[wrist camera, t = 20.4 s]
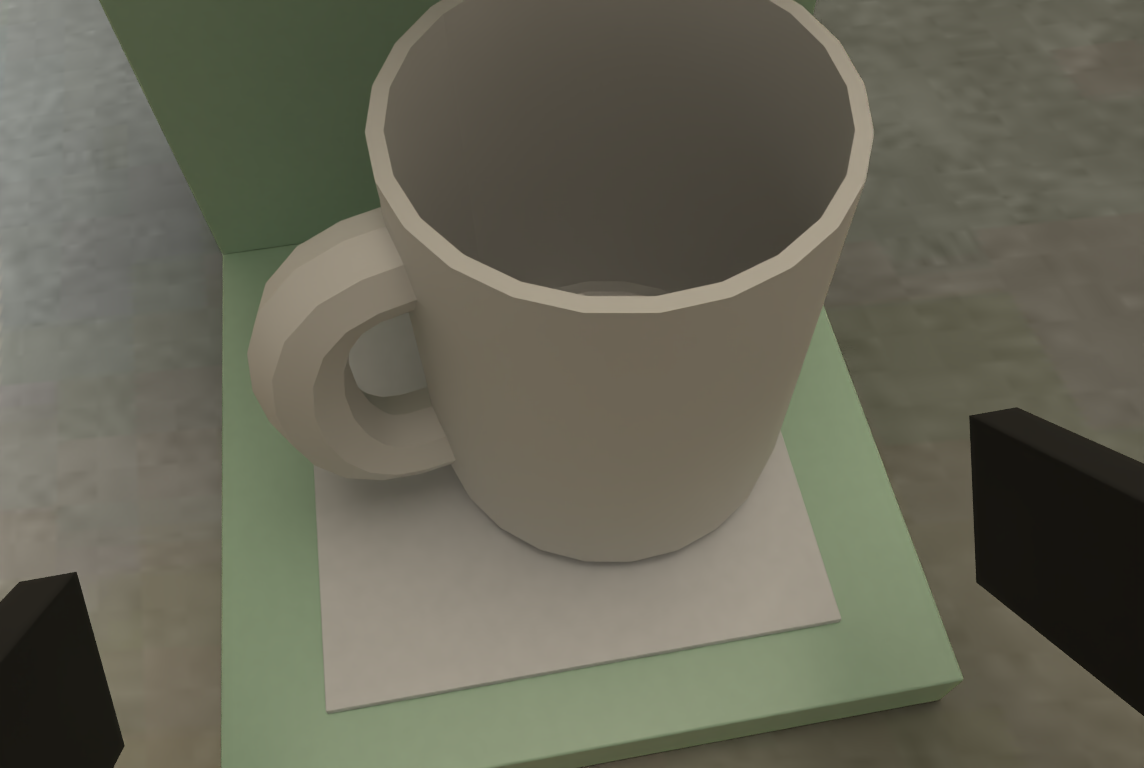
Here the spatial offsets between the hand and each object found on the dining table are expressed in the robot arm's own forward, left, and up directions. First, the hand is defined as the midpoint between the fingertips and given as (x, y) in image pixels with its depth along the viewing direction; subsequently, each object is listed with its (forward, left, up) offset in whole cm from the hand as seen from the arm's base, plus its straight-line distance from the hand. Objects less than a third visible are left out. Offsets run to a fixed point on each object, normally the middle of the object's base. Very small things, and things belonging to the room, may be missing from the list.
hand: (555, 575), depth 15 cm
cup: (+5, 0, -5) cm, 7 cm away
